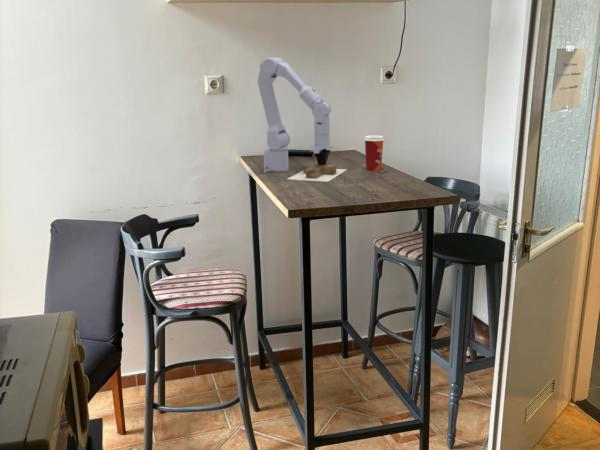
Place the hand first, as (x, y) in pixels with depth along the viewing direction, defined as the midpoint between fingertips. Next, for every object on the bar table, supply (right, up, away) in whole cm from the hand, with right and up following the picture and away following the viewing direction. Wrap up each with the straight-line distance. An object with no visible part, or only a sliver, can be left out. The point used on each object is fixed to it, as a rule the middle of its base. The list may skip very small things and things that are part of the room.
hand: (322, 169), depth 230 cm
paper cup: (+20, -1, +3) cm, 21 cm away
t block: (-2, -3, -5) cm, 6 cm away
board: (-2, -3, -4) cm, 5 cm away
